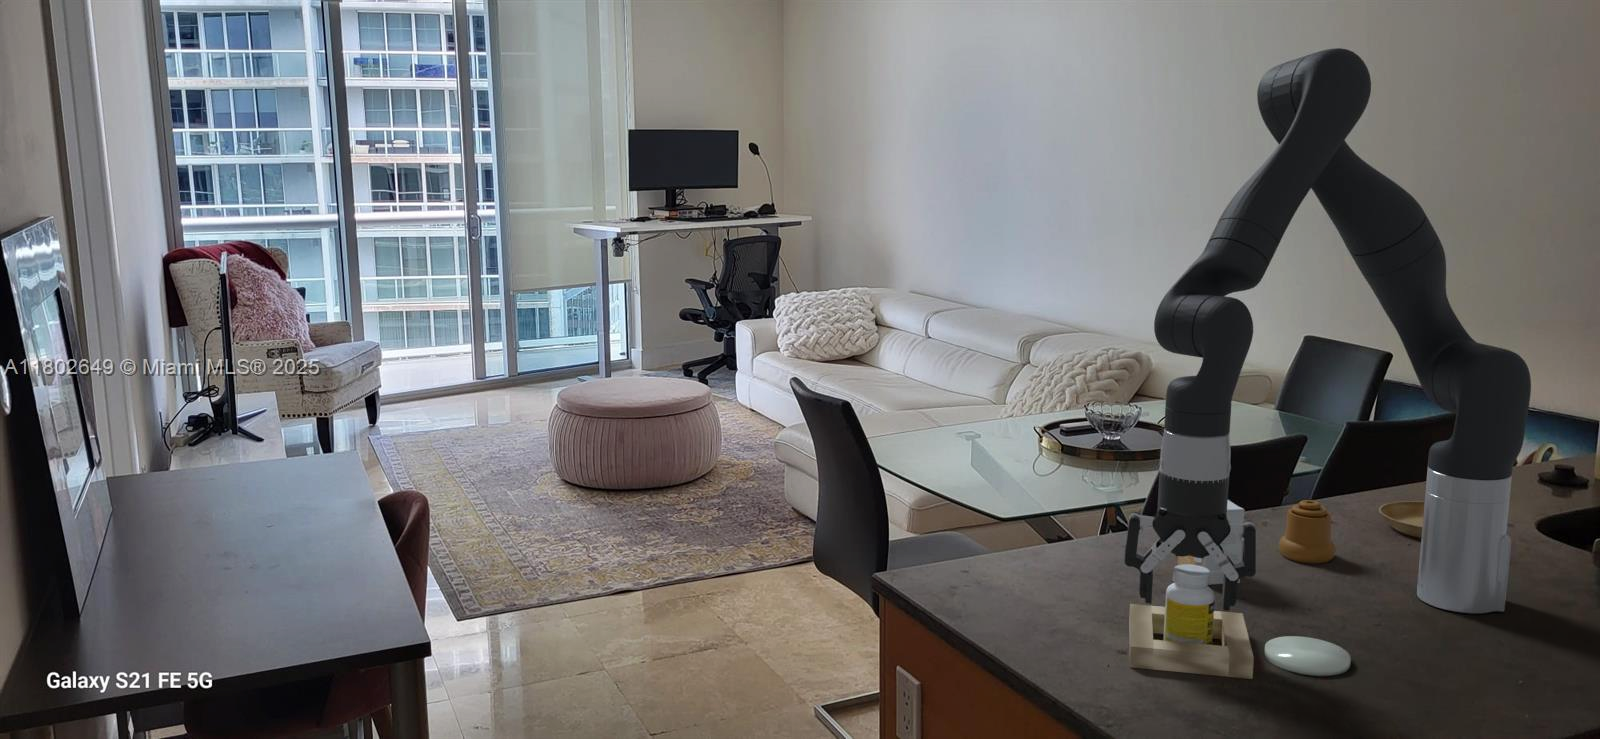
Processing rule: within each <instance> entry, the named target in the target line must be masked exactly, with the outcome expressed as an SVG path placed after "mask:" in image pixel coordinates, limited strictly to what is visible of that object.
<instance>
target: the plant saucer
mask: <svg viewBox="0 0 1600 739" xmlns="http://www.w3.org/2000/svg"><path fill="white" fill-rule="evenodd" d="M1424 505H1425V501H1419V500H1407V501H1405V500H1403V501H1402V500H1401V501H1394V502H1390V503H1389V502H1388V503H1385V504H1381V506H1379V508H1378V510H1379V511H1378V512H1379V514H1381V516H1382V518H1383V519H1384V520H1385V522H1386V523H1388V524H1389V526H1391V527H1392V528H1393V529H1394V530H1396V531H1397V532H1399V533H1402V534H1404V535H1408V536H1411V537H1414V538H1415V537H1416V538H1418V539H1422V528H1423V516H1424Z"/></svg>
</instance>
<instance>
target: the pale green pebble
mask: <svg viewBox="0 0 1600 739" xmlns="http://www.w3.org/2000/svg"><path fill="white" fill-rule="evenodd" d="M1264 656H1265V658H1266V660H1267V661H1268V662H1269V663H1271V664H1273V665H1274V666H1276V667H1278V668H1281V669H1284V670H1286V671H1289V672H1292V673H1296V674H1300V675H1306V676H1312V677H1313V676H1314V677H1330V676H1336V675H1341V674H1344V673H1345V672H1347V671H1349V669H1350V667H1351V660H1352V657H1351V654H1349V652H1348V651H1347V650H1345V649H1344V648H1342V647H1341V646H1339V645H1336V644H1335V643H1332V642H1329V641H1327V640H1323V639H1318V638H1314V637H1309V636H1297V635H1288V636H1287V635H1286V636H1285V635H1284V636H1278V637H1275V638H1272V639H1270V640H1268V641H1267V642H1266V643H1265V645H1264Z"/></svg>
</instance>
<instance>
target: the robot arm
mask: <svg viewBox="0 0 1600 739" xmlns="http://www.w3.org/2000/svg"><path fill="white" fill-rule="evenodd" d="M1371 92H1372V80H1371V75H1370V72H1369V68H1368V66H1367V64H1366V63H1365V61H1364V60H1363V58H1361V57H1360V56H1359V55H1358V54H1357V53H1355V51H1352V50H1350V49H1348V48H1342V47H1341V48H1339V47H1338V48H1329V49H1328V48H1327V49H1324V50H1323V49H1322V50H1320V51H1316V52H1313V53H1310V54H1308V55H1305V56H1304V55H1303V56H1301V57H1298V58H1295V59H1292V60H1289V61H1286V62H1284V63H1280V64H1278V65H1275V66H1273V67H1272V68H1270V69H1268V70H1267V71H1266V72H1265V73H1264V74H1263V76H1262V77H1261V79H1260V81H1259V83H1258V87H1257V92H1256V94H1257V96H1256V98H1257V105H1258V106H1257V107H1258V110H1259V112H1260V116H1261V118H1262V121H1263V123H1264V124H1265V126H1266V128H1267V130H1268V131H1269V132H1270V134H1271V136H1272V137H1273V139H1274V140H1275V141H1276V142H1277V144H1278V146H1277V147H1276V148H1275V149H1274V151H1273V152H1272V154H1270V156H1269V157H1268V158H1267V159H1266V161H1264V162H1263V164H1262V165H1261V166H1259V168H1258V169H1256V171H1255V172H1254V173H1253V175H1252V176H1251V177H1250V178H1249V179H1248V180H1247V181H1246V182H1245V183H1244V184H1243V185H1242V186H1241V187H1240V189H1239V190H1238V191H1237V192H1236V193H1235V195H1234V196H1232V198H1231V199H1230V201H1229V203H1228V204H1227V205H1226V207H1225V209H1223V210H1224V211H1223V212H1222V214H1221V216H1220V217H1219V220H1218V221H1217V224H1216V225H1215V227H1214V230H1213V231H1212V233H1211V235H1210V237H1209V239H1208V242H1207V243H1206V246H1205V248H1204V250H1203V252H1202V253H1201V255H1199V256H1198V258H1196V260H1195V261H1194V262H1193V263H1192V264H1191V265H1189V267H1188V268H1187V269H1186V270H1185V272H1183V274H1181V276H1180V277H1179V278H1178V279H1177V281H1176V282H1175V283H1174V284H1173V285H1172V286H1171V287H1170V289H1168V291H1167V292H1166V293H1165V295H1164V296H1163V298H1162V300H1161V302H1160V303H1159V304H1158V307H1157V310H1156V313H1155V317H1154V322H1153V323H1154V324H1153V331H1154V335H1155V339H1156V341H1157V343H1158V345H1160V347H1161V348H1162V349H1163V350H1166V351H1167V352H1169V353H1172V354H1178V355H1184V356H1188V357H1195V358H1202V361H1201V362H1202V363H1201V366H1200V368H1199V370H1198V372H1197V374H1196V375H1185V376H1180V377H1177V378H1176V377H1175V379H1172V380H1171V381H1170V382H1169V384H1168V385H1167V387H1166V388H1167V389H1166V395H1165V410H1164V423H1163V424H1164V425H1163V426H1164V427H1163V435H1162V439H1161V444H1160V445H1161V447H1160V458H1159V463H1158V464H1159V474H1158V494H1157V496H1158V497H1157V510H1156V512H1155V514H1154V516H1152V515H1151V516H1149V515H1144V514H1140V513H1139V512H1137V511H1131V512H1130V513H1129V516H1128V523H1127V532H1126V538H1125V539H1126V540H1125V550H1124V564H1125V565H1126V566H1127V567H1129V568H1130V567H1132V568H1135V569H1137V570H1138V571H1139V588H1138V589H1139V594H1138V595H1139V596H1140V598H1141V599H1144V604H1148V605H1149V604H1152V599H1153V598H1152V597H1153V581H1154V571H1153V570H1154V568H1156V566H1157V565H1158V564H1159V563H1160V562H1162V561H1163V560H1164V559H1166V557H1167V556H1168V555H1169V554H1170V553H1171V554H1173V555H1175V557H1178V556H1181V557H1183V556H1193V557H1196V558H1204V557H1206V556H1209V555H1211V557H1212V558H1213V559H1214V561H1215V562H1216V563H1217V565H1218V566H1219V567H1220V568H1221V569H1222V571H1223V572H1224V573H1225V574H1224V576H1223V584H1222V593H1221V594H1222V596H1221V608H1222V611H1225V612H1229V611H1230V607H1235V605H1236V603H1237V596H1238V595H1237V594H1238V584H1239V583H1238V580H1239V579H1240V580H1241V578H1245V577H1249V578H1250V577H1251V578H1252V577H1254V576H1255V575H1256V573H1257V572H1256V571H1257V568H1256V567H1257V566H1256V565H1257V562H1256V560H1257V555H1256V554H1257V550H1256V548H1257V546H1256V545H1257V544H1256V541H1257V534H1256V531H1257V529H1256V527H1255V524H1254V522H1253V521H1252V520H1251V519H1244V522H1243V523H1229V521H1228V519H1227V502H1228V500H1229V498H1228V497H1229V485H1230V472H1231V469H1232V466H1231V452H1232V451H1231V442H1230V432H1231V417H1232V402H1233V396H1234V393H1235V389H1236V387H1237V385H1238V381H1239V378H1240V375H1241V372H1242V369H1243V366H1244V364H1245V360H1246V358H1247V356H1248V353H1249V350H1250V347H1251V344H1252V341H1253V337H1254V336H1253V335H1254V322H1253V318H1252V313H1251V312H1250V310H1249V308H1248V307H1247V305H1246V304H1245V303H1244V302H1243V301H1242V300H1240V299H1238V298H1235V297H1232V296H1227V295H1230V294H1232V293H1238V292H1244V291H1249V290H1252V289H1253V288H1255V287H1257V286H1258V285H1259V284H1260V282H1261V281H1262V280H1263V278H1264V276H1265V274H1266V272H1267V269H1268V267H1269V265H1270V264H1271V261H1272V259H1273V257H1274V255H1275V254H1276V251H1277V249H1278V247H1279V245H1280V244H1281V241H1282V239H1283V236H1284V234H1285V233H1286V231H1287V228H1288V227H1289V225H1290V224H1291V221H1292V219H1293V218H1294V216H1295V214H1296V212H1297V211H1298V209H1299V207H1300V206H1301V204H1302V202H1303V201H1304V200H1305V198H1306V196H1307V195H1308V193H1309V191H1310V190H1312V191H1313V193H1314V195H1315V196H1316V198H1317V199H1318V202H1319V203H1320V204H1321V206H1322V208H1323V209H1324V211H1325V212H1326V214H1327V216H1328V217H1329V219H1330V220H1331V222H1332V223H1333V225H1334V226H1335V228H1336V230H1337V232H1338V234H1339V236H1340V237H1341V239H1342V242H1344V244H1345V247H1346V248H1347V249H1346V250H1347V251H1348V253H1349V254H1350V256H1351V258H1352V259H1353V260H1354V263H1355V264H1356V266H1357V268H1358V269H1359V271H1360V273H1361V275H1362V276H1363V278H1364V279H1365V281H1366V282H1367V284H1368V285H1369V287H1370V289H1371V290H1372V292H1373V294H1374V295H1375V297H1376V299H1377V300H1378V302H1379V304H1380V305H1381V307H1382V309H1383V311H1384V312H1385V314H1386V316H1387V318H1388V319H1389V321H1390V323H1392V325H1393V327H1394V328H1395V330H1396V332H1397V334H1398V336H1399V338H1400V340H1401V343H1402V345H1403V347H1404V350H1405V351H1406V353H1407V356H1408V359H1409V361H1410V364H1411V366H1412V368H1413V370H1414V373H1415V375H1416V377H1417V379H1418V381H1419V383H1420V384H1419V385H1420V386H1421V388H1422V390H1423V392H1424V393H1425V395H1426V396H1427V398H1428V399H1429V400H1430V401H1431V402H1432V403H1433V404H1434V405H1436V406H1437V407H1439V408H1441V409H1442V410H1444V411H1447V412H1450V413H1453V414H1456V416H1455V421H1454V428H1453V432H1452V436H1451V437H1450V438H1449V439H1448V440H1447V439H1446V440H1441V441H1436V442H1435V443H1433V444H1432V445H1431V446H1430V447H1429V452H1428V459H1427V469H1426V470H1427V472H1426V473H1427V474H1426V482H1425V483H1426V485H1425V494H1424V496H1425V497H1424V502H1425V505H1424V516H1423V528H1422V538H1420V539H1421V540H1420V541H1421V542H1420V553H1419V561H1418V562H1419V563H1418V575H1417V586H1416V587H1417V588H1416V595H1417V597H1418V598H1419V600H1421V601H1422V602H1424V603H1426V604H1428V605H1429V606H1432V607H1435V608H1439V609H1442V610H1446V611H1452V612H1457V613H1462V614H1463V613H1465V614H1466V613H1467V614H1488V613H1490V612H1491V613H1492V612H1505V608H1506V607H1505V606H1506V598H1507V597H1506V596H1507V589H1508V588H1507V587H1508V586H1507V585H1508V578H1509V577H1508V576H1509V568H1510V558H1511V547H1512V539H1511V537H1510V536H1509V535H1508V534H1507V528H1508V519H1509V518H1508V517H1509V509H1510V508H1509V507H1510V497H1511V487H1512V476H1513V469H1514V468H1513V467H1514V464H1515V462H1516V460H1517V459H1518V456H1519V455H1520V453H1521V451H1522V449H1523V444H1524V439H1525V434H1526V427H1527V421H1528V414H1529V408H1530V401H1531V394H1532V379H1531V373H1530V370H1529V366H1528V365H1527V363H1526V361H1525V360H1524V358H1522V356H1520V355H1519V354H1518V353H1516V352H1515V351H1512V350H1510V349H1507V348H1502V347H1498V346H1493V345H1489V344H1486V343H1480V342H1477V341H1476V340H1474V338H1472V337H1471V336H1470V334H1469V333H1468V331H1467V330H1466V329H1465V328H1464V326H1463V324H1462V323H1461V322H1460V320H1459V318H1458V317H1457V315H1456V313H1455V312H1454V311H1453V310H1454V309H1453V308H1452V306H1451V304H1450V302H1449V297H1448V295H1447V294H1448V293H1447V260H1446V259H1447V258H1446V253H1445V249H1444V247H1443V244H1442V241H1441V239H1440V237H1439V235H1438V234H1437V232H1436V230H1435V228H1434V226H1433V225H1432V223H1431V220H1430V219H1429V218H1428V216H1427V214H1426V212H1425V211H1424V209H1423V208H1422V205H1420V203H1419V202H1418V201H1417V199H1415V197H1414V196H1413V195H1411V194H1410V192H1408V191H1407V190H1406V189H1405V188H1403V187H1402V186H1401V185H1399V184H1398V183H1397V182H1395V181H1393V180H1392V179H1391V178H1389V177H1388V176H1386V175H1385V174H1383V173H1381V172H1380V171H1379V170H1377V169H1376V168H1375V167H1373V166H1371V164H1368V163H1367V162H1366V161H1365V160H1363V159H1362V158H1361V157H1360V156H1359V155H1358V154H1357V153H1355V151H1354V150H1353V149H1352V148H1351V146H1349V144H1348V143H1347V142H1346V139H1347V137H1348V135H1350V133H1351V132H1352V130H1353V129H1355V128H1354V127H1355V126H1356V125H1357V123H1358V122H1359V120H1360V119H1361V117H1362V116H1363V114H1364V112H1365V110H1366V108H1367V106H1368V104H1369V101H1370V98H1371V97H1370V96H1371ZM1150 527H1152V528H1153V530H1154V532H1155V533H1156V534H1157V536H1158V538H1157V540H1156V541H1155V542H1154V543H1152V545H1151V548H1149V550H1148V551H1147V552H1146V553H1145V554H1144V555H1143V556H1142V555H1140V554H1138V553H1137V551H1138V544H1139V535H1144V534H1145V533H1146V532H1147V529H1148V528H1150ZM1230 533H1234V534H1235V535H1236V539H1237V541H1239V542H1241V543H1242V559H1241V563H1237V564H1234V563H1233V562H1232V560H1231V559H1230V557H1229V556H1228V555H1227V553H1226V551H1225V550H1224V548H1223V547H1222V546H1221V543H1222V542H1223V541H1224V540H1225V538H1226V537H1227V536H1228V535H1229V534H1230Z"/></svg>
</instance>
